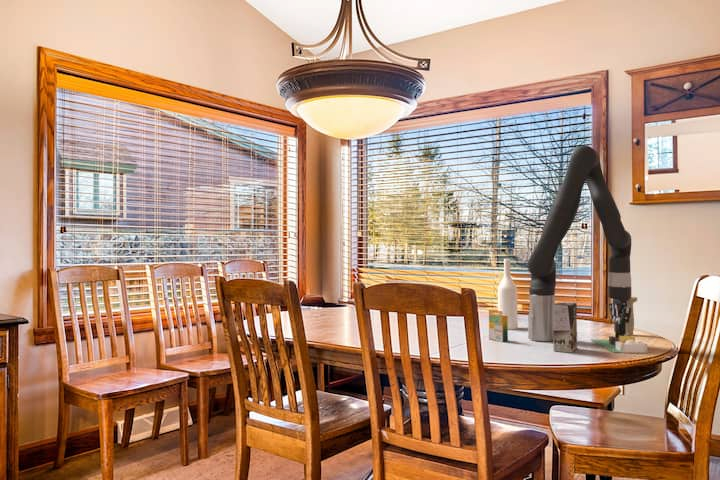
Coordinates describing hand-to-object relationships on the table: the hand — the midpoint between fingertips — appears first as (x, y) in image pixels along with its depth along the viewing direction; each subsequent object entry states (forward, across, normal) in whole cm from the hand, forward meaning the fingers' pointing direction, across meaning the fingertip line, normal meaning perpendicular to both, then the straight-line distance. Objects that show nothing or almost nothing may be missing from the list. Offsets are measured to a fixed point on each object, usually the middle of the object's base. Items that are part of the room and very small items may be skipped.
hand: (619, 333), depth 193 cm
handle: (+5, -22, +12) cm, 26 cm away
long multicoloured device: (+4, +2, 0) cm, 5 cm away
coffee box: (+5, +6, -21) cm, 23 cm away
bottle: (+5, -39, -32) cm, 50 cm away
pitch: (+5, +1, -1) cm, 5 cm away
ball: (+2, +9, 0) cm, 9 cm away
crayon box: (+5, -11, -41) cm, 43 cm away
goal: (+5, +10, 0) cm, 11 cm away
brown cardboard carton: (+5, -2, 0) cm, 5 cm away
